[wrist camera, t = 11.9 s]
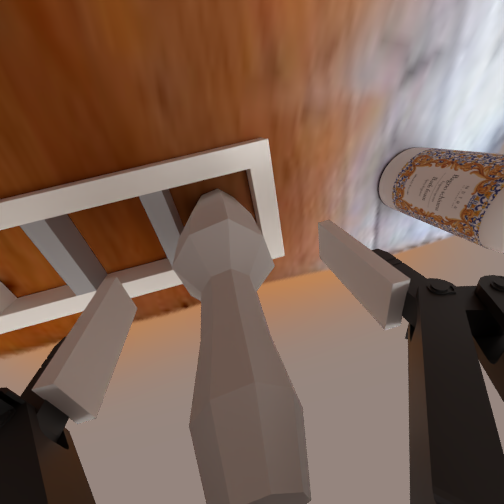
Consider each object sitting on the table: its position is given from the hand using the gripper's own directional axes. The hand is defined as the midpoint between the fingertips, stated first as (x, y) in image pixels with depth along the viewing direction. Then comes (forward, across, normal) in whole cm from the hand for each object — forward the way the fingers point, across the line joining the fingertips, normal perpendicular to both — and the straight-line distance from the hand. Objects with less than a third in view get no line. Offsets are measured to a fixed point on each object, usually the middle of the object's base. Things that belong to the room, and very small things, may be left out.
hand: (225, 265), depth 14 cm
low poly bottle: (+11, 0, 0) cm, 11 cm away
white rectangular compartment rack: (+11, -10, 0) cm, 15 cm away
